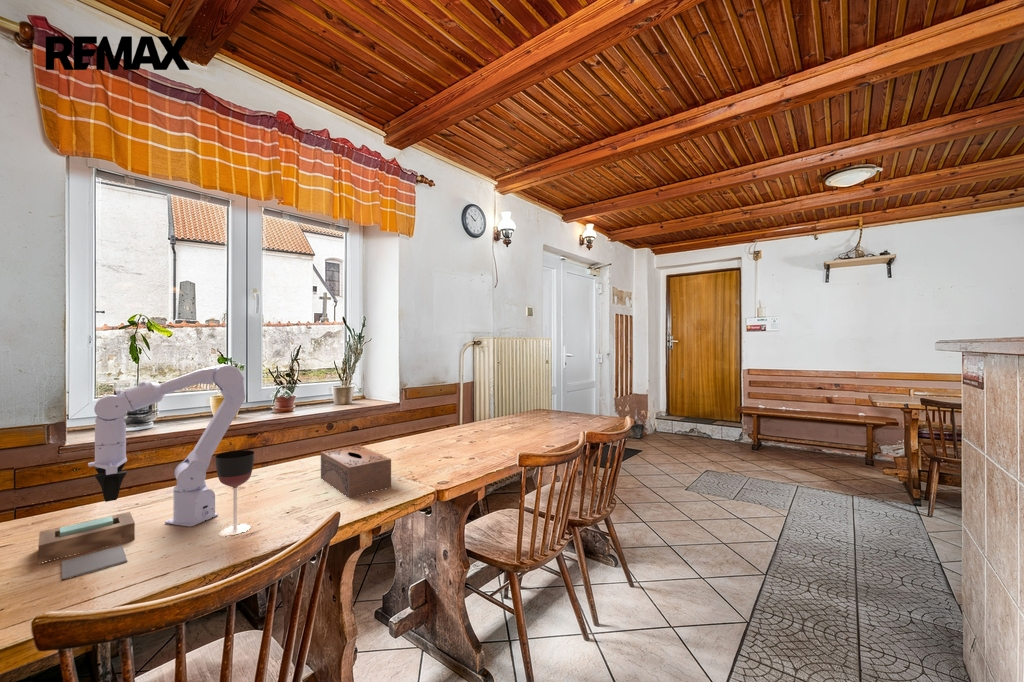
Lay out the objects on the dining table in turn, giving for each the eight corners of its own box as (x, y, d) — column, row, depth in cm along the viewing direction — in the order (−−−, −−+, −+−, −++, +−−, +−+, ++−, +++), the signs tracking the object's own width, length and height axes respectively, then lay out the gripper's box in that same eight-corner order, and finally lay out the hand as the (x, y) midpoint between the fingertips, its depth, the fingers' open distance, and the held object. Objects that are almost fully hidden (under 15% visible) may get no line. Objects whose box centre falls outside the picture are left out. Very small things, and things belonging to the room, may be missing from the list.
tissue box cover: (320, 479, 152) (320, 451, 152) (359, 470, 162) (359, 445, 162) (348, 499, 133) (349, 467, 133) (391, 488, 143) (391, 458, 143)
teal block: (111, 523, 107) (111, 516, 107) (113, 528, 104) (113, 520, 104) (60, 535, 100) (60, 527, 100) (60, 541, 98) (60, 532, 98)
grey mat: (122, 547, 101) (122, 545, 101) (127, 561, 94) (127, 560, 94) (61, 563, 94) (61, 561, 94) (61, 580, 87) (61, 578, 87)
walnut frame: (129, 527, 112) (129, 511, 112) (134, 539, 105) (134, 522, 105) (39, 549, 100) (39, 531, 100) (38, 564, 93) (38, 545, 93)
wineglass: (226, 523, 114) (226, 450, 114) (260, 522, 115) (260, 449, 115) (208, 537, 106) (208, 458, 106) (244, 536, 107) (244, 458, 107)
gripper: (88, 440, 108) (88, 493, 108) (88, 451, 98) (88, 509, 98) (125, 436, 113) (125, 486, 113) (128, 445, 103) (128, 500, 103)
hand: (110, 496), depth 106 cm, fingers open, 7 cm apart
